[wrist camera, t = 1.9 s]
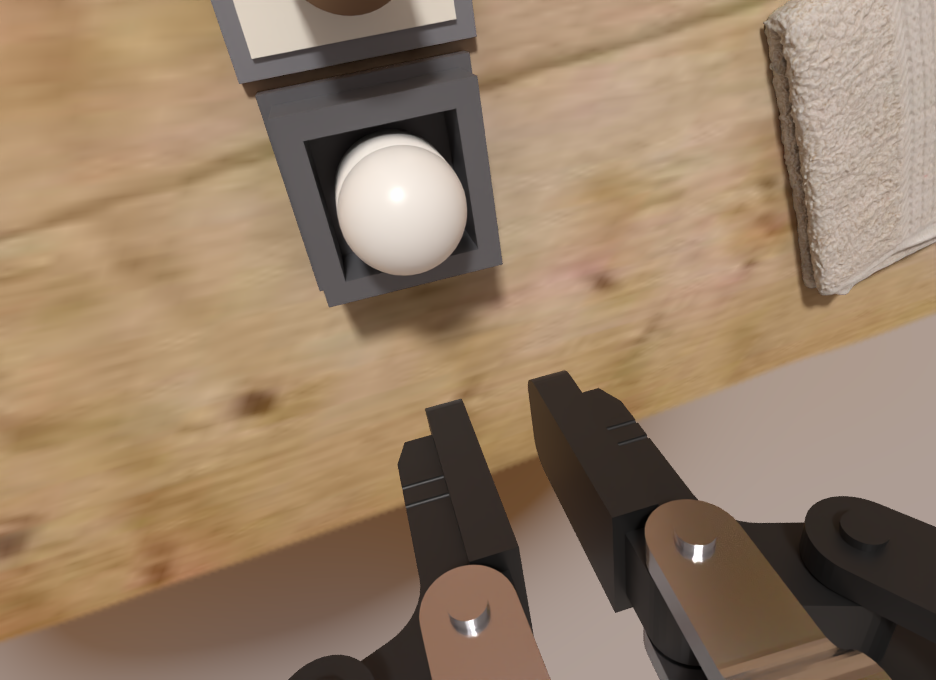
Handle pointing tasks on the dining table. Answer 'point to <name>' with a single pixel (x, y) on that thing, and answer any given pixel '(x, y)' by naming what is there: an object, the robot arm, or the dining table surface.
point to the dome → (399, 202)
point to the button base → (358, 114)
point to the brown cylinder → (348, 6)
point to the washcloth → (857, 131)
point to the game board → (331, 33)
